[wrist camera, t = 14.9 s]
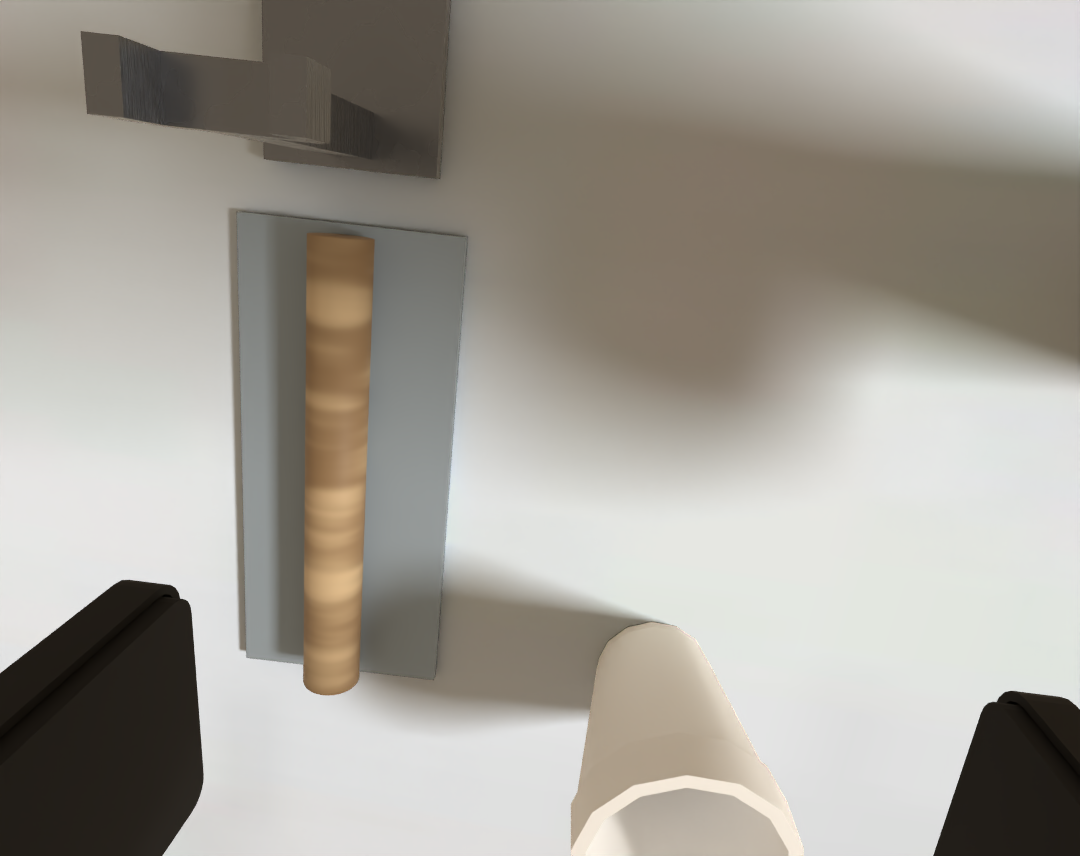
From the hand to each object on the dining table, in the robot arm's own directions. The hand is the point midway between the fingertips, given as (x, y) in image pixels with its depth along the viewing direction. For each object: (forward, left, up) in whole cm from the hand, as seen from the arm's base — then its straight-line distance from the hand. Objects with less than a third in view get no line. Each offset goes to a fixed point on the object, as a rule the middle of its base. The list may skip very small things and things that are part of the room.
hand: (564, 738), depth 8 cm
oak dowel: (+11, +9, -28) cm, 31 cm away
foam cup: (-7, +19, -29) cm, 35 cm away
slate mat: (+11, +9, -29) cm, 32 cm away
